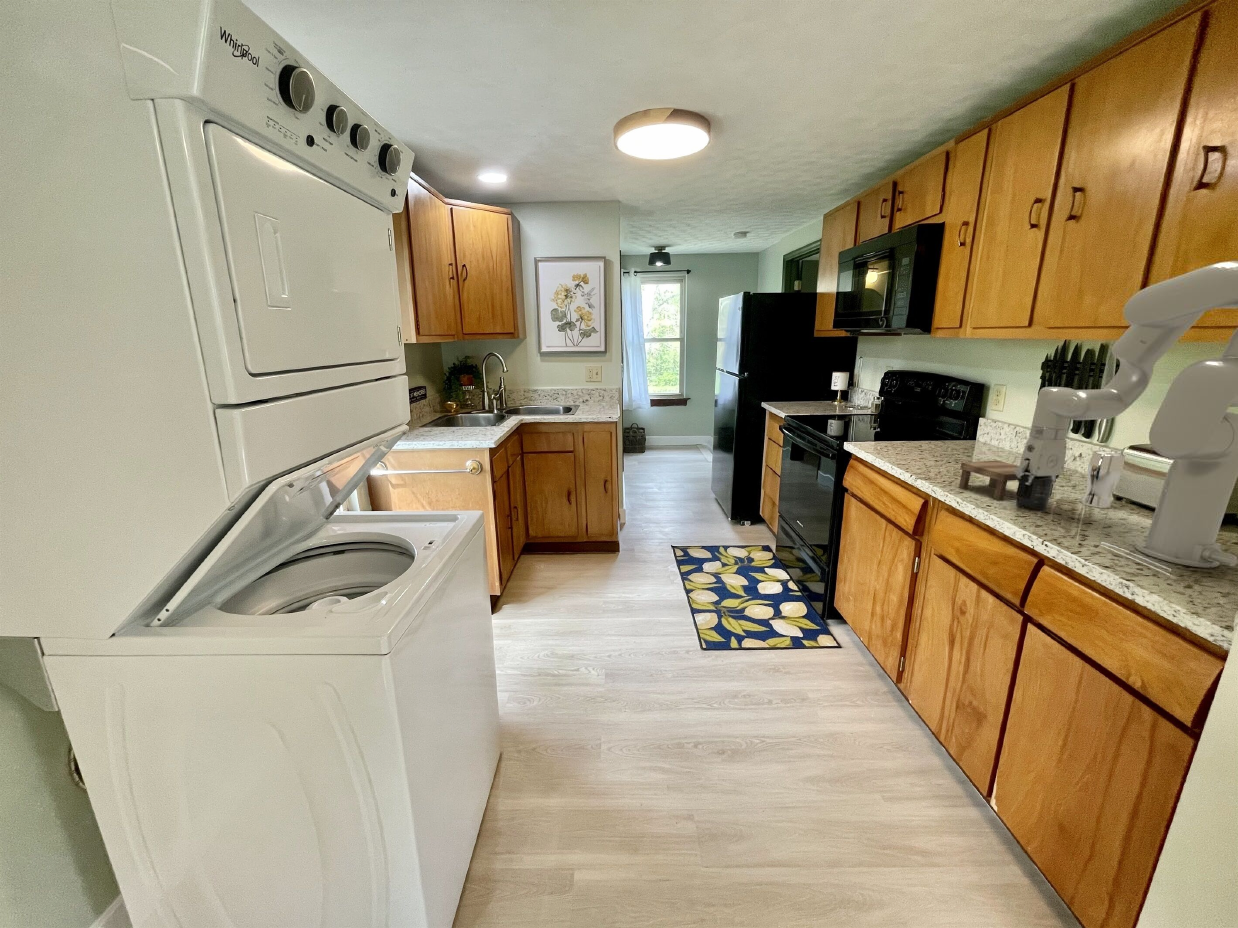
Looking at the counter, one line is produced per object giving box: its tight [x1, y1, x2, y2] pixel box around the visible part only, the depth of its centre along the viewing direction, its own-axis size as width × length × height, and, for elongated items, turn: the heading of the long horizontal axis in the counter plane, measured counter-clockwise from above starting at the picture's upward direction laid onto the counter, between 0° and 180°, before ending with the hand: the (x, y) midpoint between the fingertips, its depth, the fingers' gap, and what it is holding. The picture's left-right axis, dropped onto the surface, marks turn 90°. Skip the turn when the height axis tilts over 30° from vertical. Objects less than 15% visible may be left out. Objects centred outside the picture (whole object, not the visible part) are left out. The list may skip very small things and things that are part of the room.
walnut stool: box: [958, 460, 1019, 502], centre depth 151 cm, size 14×14×8 cm
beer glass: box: [1080, 450, 1126, 509], centre depth 141 cm, size 7×7×15 cm
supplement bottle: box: [1015, 471, 1054, 511], centre depth 138 cm, size 7×7×12 cm
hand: (1033, 496), depth 139 cm, fingers closed on supplement bottle, 6 cm apart
